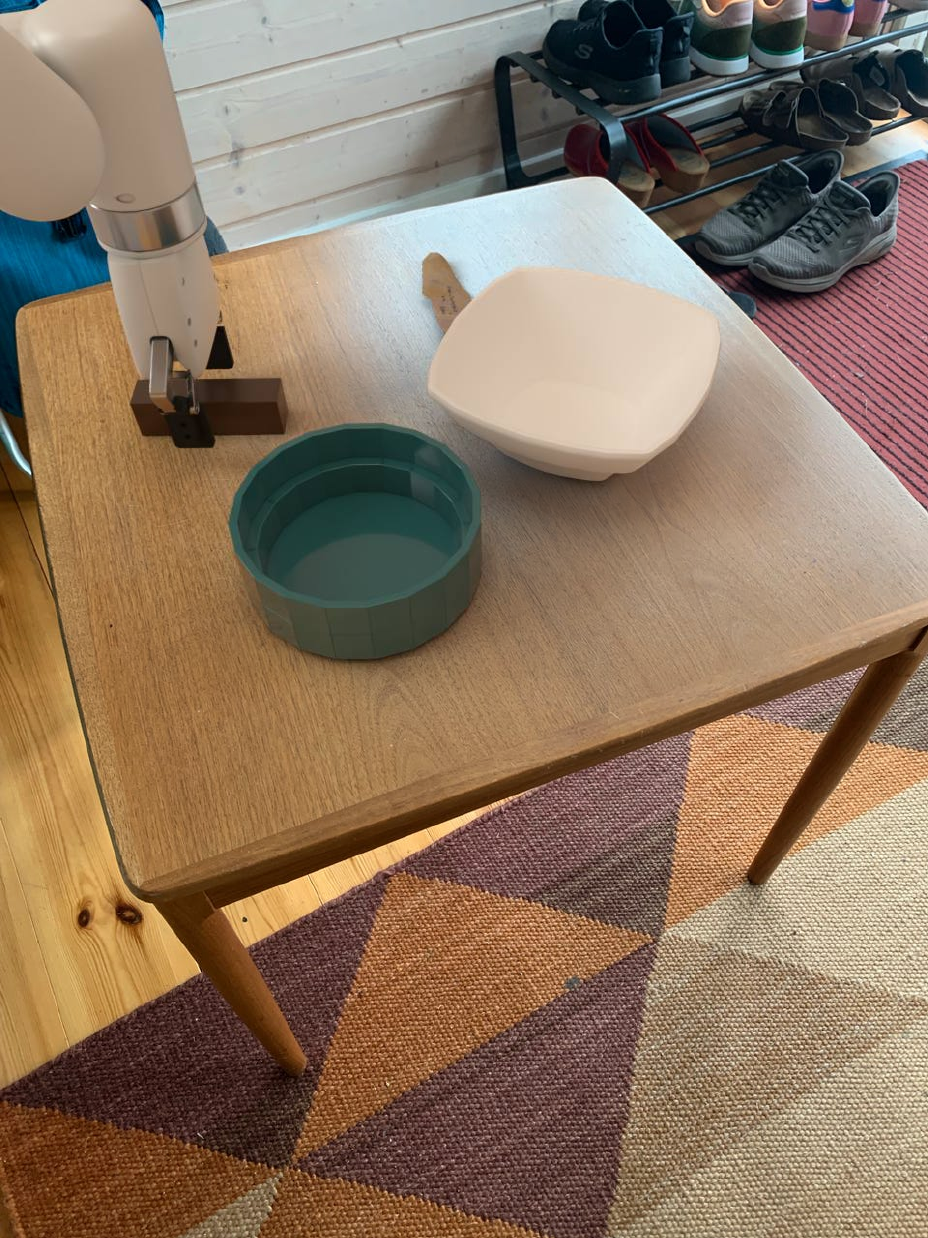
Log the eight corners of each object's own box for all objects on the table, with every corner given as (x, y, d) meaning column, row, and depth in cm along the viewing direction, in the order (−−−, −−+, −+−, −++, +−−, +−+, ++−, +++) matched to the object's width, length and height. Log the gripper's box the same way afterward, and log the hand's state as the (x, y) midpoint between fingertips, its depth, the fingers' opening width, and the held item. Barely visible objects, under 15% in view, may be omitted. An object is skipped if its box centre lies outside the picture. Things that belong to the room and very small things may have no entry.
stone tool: (403, 262, 91) (441, 353, 82) (407, 247, 90) (445, 338, 81) (452, 267, 93) (495, 356, 84) (456, 252, 92) (499, 341, 83)
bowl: (401, 480, 74) (392, 396, 67) (503, 333, 85) (506, 248, 78) (648, 562, 68) (667, 480, 62) (724, 394, 79) (747, 308, 73)
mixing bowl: (232, 665, 64) (210, 608, 58) (265, 485, 74) (248, 423, 69) (482, 663, 63) (482, 606, 58) (480, 483, 74) (479, 421, 68)
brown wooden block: (142, 435, 77) (129, 403, 75) (149, 412, 79) (136, 379, 76) (284, 434, 77) (276, 401, 74) (288, 410, 79) (281, 377, 76)
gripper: (120, 145, 68) (180, 340, 82) (58, 283, 58) (139, 479, 71) (221, 144, 68) (264, 339, 82) (177, 282, 58) (235, 479, 71)
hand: (206, 404), depth 77 cm, fingers open, 9 cm apart
